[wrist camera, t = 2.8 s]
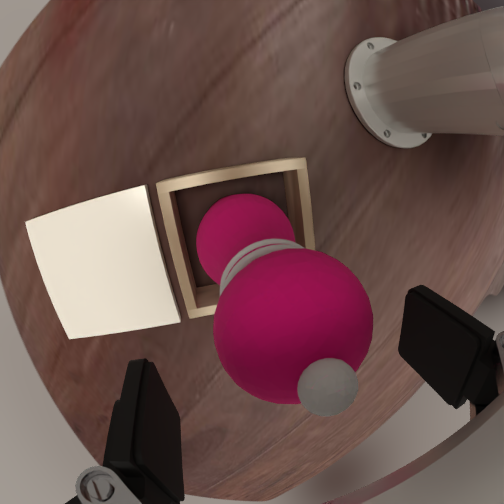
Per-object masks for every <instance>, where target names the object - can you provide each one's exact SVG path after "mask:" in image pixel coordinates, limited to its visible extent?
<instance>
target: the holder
mask: <svg viewBox="0 0 504 504" xmlns="http://www.w3.org/2000/svg"><path fill="white" fill-rule="evenodd" d="M281 171H283V179H284V186H285V194H286V202H287V210H288V218H289V221H290V223H291V226H292V228H293V232H294V236H295V243H297V244H299V245H301V246H302V247H304V248H307V249H311V250H315V241H314V229H313V218H312V208H311V199H310V190H309V181H308V173H307V165H306V158H284V159H276V160H269V161H262V162H255V163H248V164H242V165H236V166H230V167H224V168H219V169H213V170H208V171H203V172H198V173H193V174H188V175H183V176H178V177H174V178H169V179H165V180H162V181H160V182H158V183H156V187H157V192H158V196H159V201H160V206H161V211H162V215H163V220H164V224H165V228H166V233H167V237H168V241H169V245H170V249H171V253H172V257H173V261H174V265H175V269H176V272H177V276H178V280H179V284H180V287H181V291H182V294H183V298H184V301H185V305H186V308H187V311H188V315H189V318H190V319H191V318H196V317H201V316H206V315H211V314H214V313H215V310H216V307H217V304H218V301H219V298H220V285H219V284H213V285H208V286H203V287H198V288H196V284H195V280H194V276H193V272H192V268H191V264H190V260H189V255H188V251H187V247H186V243H185V238H184V234H183V229H182V225H181V220H180V215H179V211H178V206H177V201H176V196H175V190H180V189H184V188H189V187H194V186H199V185H204V184H209V183H214V182H220V181H225V180H231V179H236V178H242V177H248V176H254V175H261V174H267V173H274V172H281Z"/></svg>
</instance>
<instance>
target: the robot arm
mask: <svg viewBox="0 0 504 504" xmlns="http://www.w3.org/2000/svg"><path fill="white" fill-rule="evenodd" d="M345 85H346V91H347V94H348V98H349V101H350V103H351V106H352V108H353V110H354V112H355V114H356V115H357V117H358V118H359V120H360V122H361V123H362V124H363V125H364V127H365V128H366V129H367V130H368V131H369V132H370V133H371V134H372V135H373V136H374V137H376V138H377V139H378V140H380V141H382V142H383V143H385V144H387V145H390V146H393V147H397V148H413V147H417V146H420V145H421V144H423V143H424V142H426V141H427V140H428V139H429V137H430V136H431V135H432V133H457V134H481V135H496V136H504V6H503V7H498V8H494V9H490V10H486V11H482V12H479V13H475V14H472V15H468V16H465V17H461V18H458V19H455V20H452V21H449V22H446V23H443V24H440V25H438V26H435V27H432V28H430V29H427V30H424V31H422V32H419V33H417V34H414V35H412V36H409V37H407V38H405V39H402V40H400V41H398V42H397V41H395V40H392V39H389V38H383V37H375V38H370V39H367V40H365V41H363V42H361V43H360V44H358V45H357V46H356V47H355V48H354V49H353V50H352V51H351V53H350V55H349V57H348V59H347V62H346V66H345ZM494 333H495V331H493V330H492V329H490V328H489V327H487V326H486V325H484V324H483V323H481V322H480V321H479V320H477V319H476V318H474V317H473V316H471V315H470V314H468V313H467V312H465V311H464V310H462V309H460V308H459V307H457V306H456V305H454V304H453V303H451V302H450V301H448V300H446V299H445V298H443V297H442V296H440V295H439V294H437V293H435V292H434V291H432V290H431V289H429V288H427V287H426V286H424V285H419V286H417V287H414V288H411V289H410V290H409V291H408V294H407V295H406V298H405V306H404V314H403V321H402V328H401V335H400V341H399V346H398V351H399V354H400V356H401V357H402V358H403V359H404V360H405V361H406V362H407V363H408V364H409V365H410V366H411V367H412V368H413V369H414V370H415V371H416V372H417V373H418V374H419V375H420V376H421V377H422V378H423V379H424V380H425V381H426V382H427V383H428V384H429V385H430V386H431V387H432V388H433V389H434V390H435V391H436V392H437V393H438V394H439V395H440V396H441V397H442V398H443V400H444V401H445V402H446V403H448V404H449V405H452V406H453V407H454V408H455V409H458V408H459V407H460V406H462V405H463V404H464V403H465V402H466V400H467V399H468V400H469V401H470V421H469V422H468V423H467V424H466V425H464V426H463V427H462V428H461V429H459V430H458V431H457V432H455V433H454V434H453V435H451V436H450V437H449V438H447V439H446V440H444V441H443V442H442V443H440V444H439V445H437V446H436V447H434V448H433V449H431V450H430V451H428V452H427V453H425V454H424V455H422V456H421V457H419V458H417V459H416V460H414V461H412V462H411V463H409V464H407V465H406V466H404V467H402V468H400V469H398V470H397V471H395V472H393V473H391V474H389V475H387V476H386V477H384V478H381V479H379V480H377V481H375V482H373V483H371V484H369V485H367V486H365V487H363V488H360V489H358V490H356V491H354V492H351V493H349V494H346V495H344V496H341V497H339V498H336V499H334V500H331V501H328V502H325V503H323V504H504V331H503V332H501V333H499V334H498V335H497V338H496V340H495V341H494V340H493V336H494ZM75 486H76V493H77V496H75V497H74V498H72V499H71V500H70V501H68V502H67V503H65V504H180V501H184V498H185V497H184V484H183V470H182V453H181V428H180V417H179V413H178V411H177V409H176V407H175V406H174V404H173V402H172V400H171V398H170V396H169V394H168V392H167V390H166V388H165V386H164V384H163V382H162V380H161V377H160V375H159V373H158V371H157V369H156V367H155V365H154V363H153V362H148V360H147V359H138V360H130V361H129V363H128V367H127V371H126V375H125V380H124V384H123V389H122V393H121V398H120V400H117V401H116V402H115V404H114V408H113V412H112V417H111V422H110V427H109V432H108V437H107V443H106V449H105V454H104V461H103V467H102V466H95V467H90V468H88V469H86V470H85V471H83V472H82V473H81V474H80V476H79V477H78V479H77V481H76V485H75Z"/></svg>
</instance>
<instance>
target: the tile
mask: <svg viewBox="0 0 504 504" xmlns="http://www.w3.org/2000/svg"><path fill="white" fill-rule="evenodd" d="M25 223H26V227H27V231H28V235H29V238H30V241H31V245H32V248H33V251H34V255H35V258H36V261H37V264H38V267H39V269H40V272H41V275H42V278H43V280H44V283H45V286H46V288H47V291H48V293H49V296H50V298H51V301H52V303H53V305H54V308H55V310H56V312H57V314H58V317H59V319H60V321H61V323H62V325H63V327H64V329H65V331H66V334H67V336H68V338H69V339H74V338H83V337H90V336H98V335H105V334H112V333H119V332H125V331H132V330H138V329H144V328H150V327H156V326H162V325H167V324H173V323H178V322H181V315H180V312H179V309H178V306H177V302H176V299H175V296H174V292H173V289H172V285H171V282H170V278H169V275H168V271H167V267H166V264H165V260H164V256H163V252H162V249H161V245H160V241H159V237H158V232H157V228H156V224H155V220H154V215H153V211H152V206H151V202H150V197H149V192H148V187H147V184H146V185H142V186H138V187H134V188H130V189H126V190H123V191H119V192H115V193H112V194H108V195H105V196H101V197H98V198H94V199H91V200H88V201H84V202H81V203H78V204H75V205H71V206H68V207H65V208H62V209H59V210H56V211H53V212H50V213H48V214H45V215H42V216H39V217H36V218H34V219H31V220H29V221H26V222H25Z"/></svg>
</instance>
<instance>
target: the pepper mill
mask: <svg viewBox="0 0 504 504" xmlns="http://www.w3.org/2000/svg"><path fill="white" fill-rule="evenodd" d="M196 247H197V253H198V257H199V260H200V263H201V265H202V267H203V269H204V270H205V272H206V273H207V274H208V275H209V277H210V278H211V279H212V280H213V281H215V282H216V283H217V284H219V285H220V298H219V301H218V304H217V307H216V310H215V313H214V325H213V335H214V342H215V347H216V350H217V353H218V356H219V359H220V361H221V363H222V365H223V367H224V369H225V371H226V372H227V373H228V374H229V376H230V377H231V378H232V379H233V380H234V382H235V383H236V384H237V385H238V386H240V387H241V388H242V389H244V390H245V391H246V392H248V393H250V394H251V395H253V396H255V397H257V398H259V399H262V400H265V401H269V402H273V403H277V404H300V403H302V405H303V406H304V407H305V408H306V409H307V410H308V411H310V412H311V413H313V414H316V415H319V416H332V415H337V414H339V413H341V412H342V411H344V410H346V409H347V408H348V407H349V406H350V405H351V404H352V403H353V401H354V399H355V397H356V394H357V392H358V379H357V376H356V373H355V372H356V371H357V369H358V368H359V366H360V365H361V363H362V361H363V360H364V358H365V356H366V355H367V353H368V350H369V347H370V343H371V340H372V332H373V313H372V309H371V305H370V301H369V298H368V296H367V294H366V292H365V290H364V288H363V286H362V284H361V283H360V281H359V280H358V278H357V277H356V276H355V275H354V274H353V273H352V272H351V271H350V269H349V268H348V267H346V266H345V265H344V264H342V263H341V262H340V261H338V260H337V259H335V258H333V257H331V256H329V255H327V254H325V253H323V252H319V251H315V250H311V249H307V248H304V247H302V246H301V245H299V244H297V243H295V236H294V232H293V228H292V226H291V223H290V221H289V219H288V218H287V217H286V215H285V214H284V212H283V211H282V210H281V209H280V208H279V207H278V206H277V205H276V204H274V203H273V202H272V201H270V200H268V199H267V198H264V197H262V196H259V195H254V194H235V195H229V196H226V197H224V198H222V199H220V200H218V201H217V202H216V203H214V204H213V205H212V206H211V207H210V209H209V210H208V211H207V213H206V214H205V215H204V217H203V219H202V221H201V223H200V225H199V228H198V231H197V237H196Z"/></svg>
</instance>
